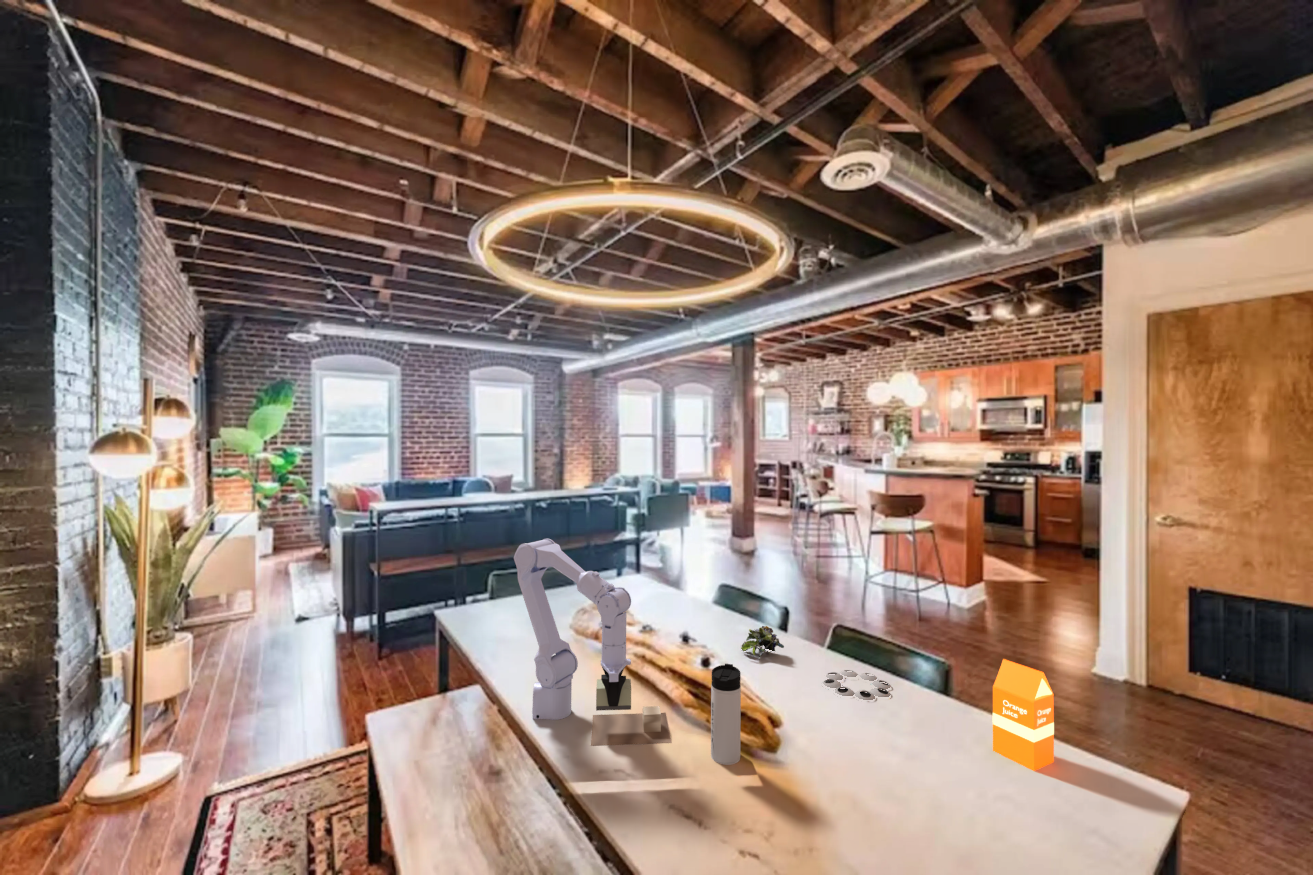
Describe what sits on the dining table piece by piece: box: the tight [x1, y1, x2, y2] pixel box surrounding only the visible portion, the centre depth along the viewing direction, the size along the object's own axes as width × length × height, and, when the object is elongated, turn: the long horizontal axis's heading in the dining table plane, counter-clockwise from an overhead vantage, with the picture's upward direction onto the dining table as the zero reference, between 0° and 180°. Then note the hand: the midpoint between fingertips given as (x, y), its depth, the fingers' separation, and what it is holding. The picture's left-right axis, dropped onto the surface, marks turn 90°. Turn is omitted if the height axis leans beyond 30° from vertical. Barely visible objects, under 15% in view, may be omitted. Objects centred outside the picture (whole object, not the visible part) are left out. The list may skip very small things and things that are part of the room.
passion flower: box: [740, 625, 785, 657], centre depth 180 cm, size 11×11×12 cm
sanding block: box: [595, 678, 632, 711], centre depth 130 cm, size 8×5×5 cm, turn 95°
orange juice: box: [992, 658, 1055, 772], centre depth 123 cm, size 8×9×20 cm
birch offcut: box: [642, 705, 662, 732], centre depth 131 cm, size 4×4×4 cm
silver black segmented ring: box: [822, 669, 892, 700], centre depth 158 cm, size 20×20×2 cm
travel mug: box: [710, 663, 742, 766], centre depth 119 cm, size 6×7×20 cm
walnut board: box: [590, 712, 672, 747], centre depth 131 cm, size 18×14×2 cm
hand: (613, 699), depth 130 cm, fingers closed on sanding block, 5 cm apart
